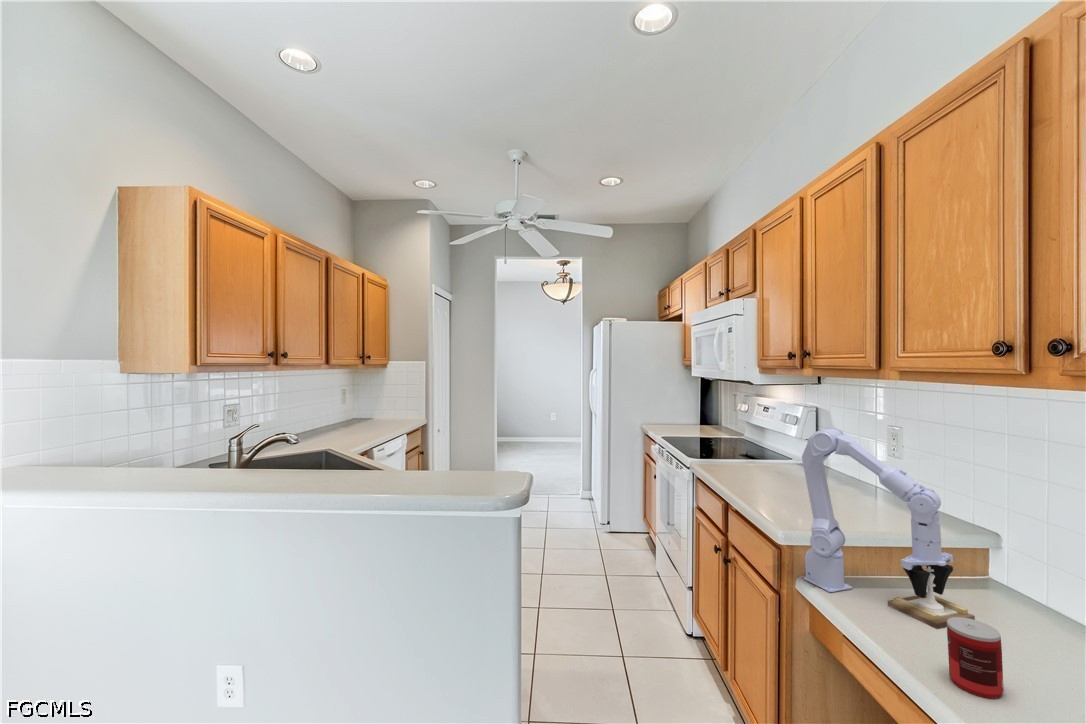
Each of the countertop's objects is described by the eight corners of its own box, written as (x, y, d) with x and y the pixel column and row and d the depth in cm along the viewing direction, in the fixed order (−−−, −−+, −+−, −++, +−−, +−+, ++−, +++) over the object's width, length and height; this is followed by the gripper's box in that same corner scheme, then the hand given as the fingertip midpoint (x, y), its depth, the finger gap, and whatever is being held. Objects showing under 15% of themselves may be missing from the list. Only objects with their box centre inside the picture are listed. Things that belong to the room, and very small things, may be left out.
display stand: (887, 605, 123) (887, 596, 123) (923, 598, 126) (922, 589, 126) (937, 628, 111) (936, 618, 111) (974, 620, 114) (974, 610, 114)
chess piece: (916, 601, 122) (914, 561, 122) (941, 605, 119) (939, 564, 120) (920, 609, 117) (918, 568, 118) (946, 614, 115) (944, 571, 115)
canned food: (975, 671, 95) (972, 615, 96) (1016, 698, 87) (1013, 637, 88) (938, 673, 95) (935, 617, 95) (976, 700, 87) (972, 639, 87)
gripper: (920, 548, 113) (923, 606, 113) (965, 541, 117) (968, 597, 117) (891, 538, 120) (894, 593, 120) (935, 532, 124) (937, 585, 123)
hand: (928, 594), depth 119 cm, fingers open, 5 cm apart
